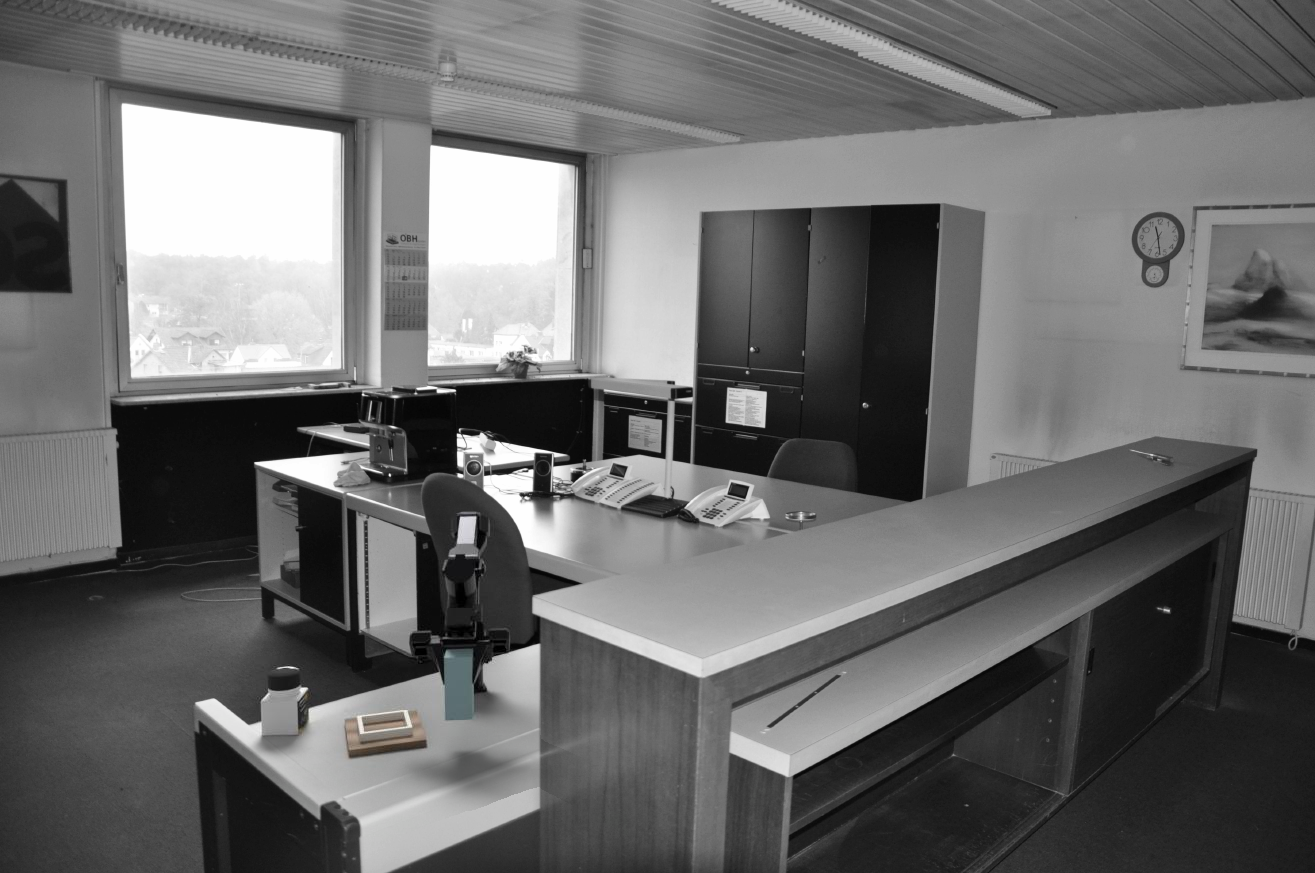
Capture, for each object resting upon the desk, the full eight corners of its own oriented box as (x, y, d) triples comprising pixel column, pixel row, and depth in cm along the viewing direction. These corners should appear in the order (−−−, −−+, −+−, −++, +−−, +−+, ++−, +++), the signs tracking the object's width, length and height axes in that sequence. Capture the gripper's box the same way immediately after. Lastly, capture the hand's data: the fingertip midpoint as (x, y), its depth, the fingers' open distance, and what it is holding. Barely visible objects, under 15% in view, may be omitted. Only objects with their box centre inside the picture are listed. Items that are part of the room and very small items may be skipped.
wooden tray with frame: (344, 724, 190) (344, 711, 190) (416, 715, 195) (416, 702, 195) (349, 756, 176) (348, 742, 175) (426, 745, 180) (426, 731, 180)
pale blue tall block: (447, 710, 182) (446, 649, 181) (473, 709, 183) (473, 648, 182) (445, 720, 177) (444, 657, 176) (472, 719, 178) (471, 656, 177)
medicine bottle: (299, 735, 185) (297, 675, 184) (261, 736, 185) (259, 676, 184) (309, 721, 192) (307, 663, 191) (273, 722, 192) (271, 664, 191)
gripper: (409, 589, 181) (402, 665, 171) (508, 587, 183) (508, 661, 173) (415, 618, 189) (409, 692, 179) (510, 615, 192) (509, 688, 182)
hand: (458, 683), depth 178 cm, fingers closed on pale blue tall block, 5 cm apart
